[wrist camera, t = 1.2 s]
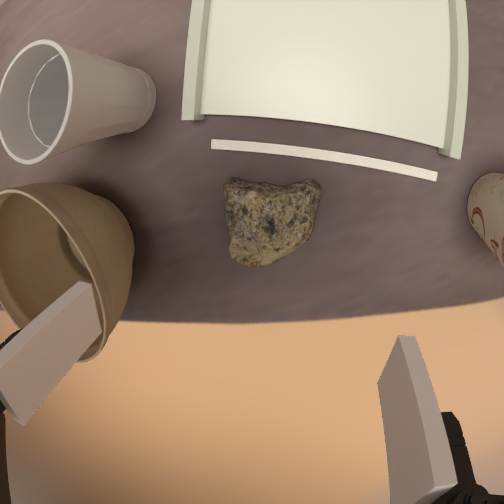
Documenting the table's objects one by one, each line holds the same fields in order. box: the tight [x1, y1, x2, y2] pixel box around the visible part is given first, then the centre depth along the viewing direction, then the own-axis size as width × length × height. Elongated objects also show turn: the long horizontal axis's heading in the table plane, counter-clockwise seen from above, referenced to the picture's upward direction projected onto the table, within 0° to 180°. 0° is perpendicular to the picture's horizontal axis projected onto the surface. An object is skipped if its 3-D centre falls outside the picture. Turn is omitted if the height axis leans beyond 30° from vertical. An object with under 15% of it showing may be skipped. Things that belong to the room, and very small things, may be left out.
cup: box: [0, 40, 156, 164], centre depth 19 cm, size 8×8×12 cm
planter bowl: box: [0, 182, 135, 363], centre depth 25 cm, size 16×16×11 cm
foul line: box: [211, 139, 438, 181], centre depth 23 cm, size 19×1×1 cm, turn 86°
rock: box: [223, 178, 321, 267], centre depth 24 cm, size 7×8×4 cm
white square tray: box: [181, 0, 468, 159], centre depth 17 cm, size 22×21×2 cm
